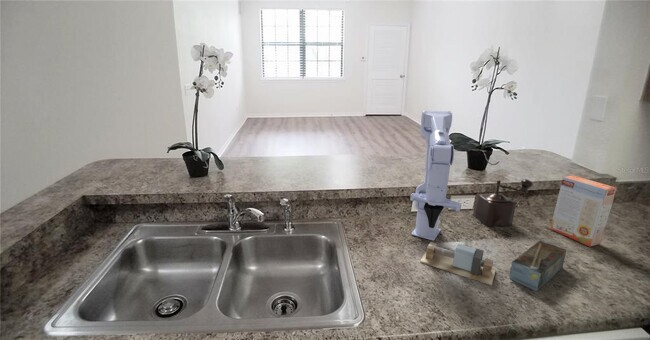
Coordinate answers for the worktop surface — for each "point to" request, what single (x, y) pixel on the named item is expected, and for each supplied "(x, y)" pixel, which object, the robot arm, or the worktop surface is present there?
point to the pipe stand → (445, 261)
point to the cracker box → (583, 209)
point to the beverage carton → (537, 265)
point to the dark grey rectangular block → (476, 262)
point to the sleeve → (464, 257)
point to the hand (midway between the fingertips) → (431, 226)
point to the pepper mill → (497, 206)
